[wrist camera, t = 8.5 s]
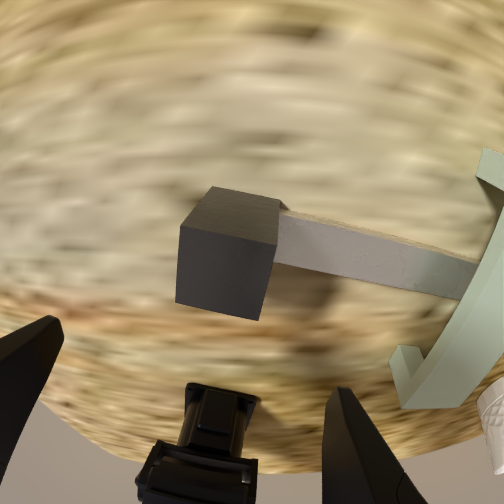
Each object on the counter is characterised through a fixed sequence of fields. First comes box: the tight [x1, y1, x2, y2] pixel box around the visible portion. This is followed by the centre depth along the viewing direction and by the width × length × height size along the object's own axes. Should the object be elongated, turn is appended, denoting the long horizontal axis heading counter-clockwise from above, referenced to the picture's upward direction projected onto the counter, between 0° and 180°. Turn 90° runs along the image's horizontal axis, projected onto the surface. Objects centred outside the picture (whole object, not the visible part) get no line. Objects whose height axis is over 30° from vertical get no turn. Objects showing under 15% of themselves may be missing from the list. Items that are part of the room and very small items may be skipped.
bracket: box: [388, 147, 504, 409], centre depth 16 cm, size 18×6×5 cm, turn 170°
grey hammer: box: [175, 186, 481, 321], centre depth 16 cm, size 4×21×6 cm, turn 80°
